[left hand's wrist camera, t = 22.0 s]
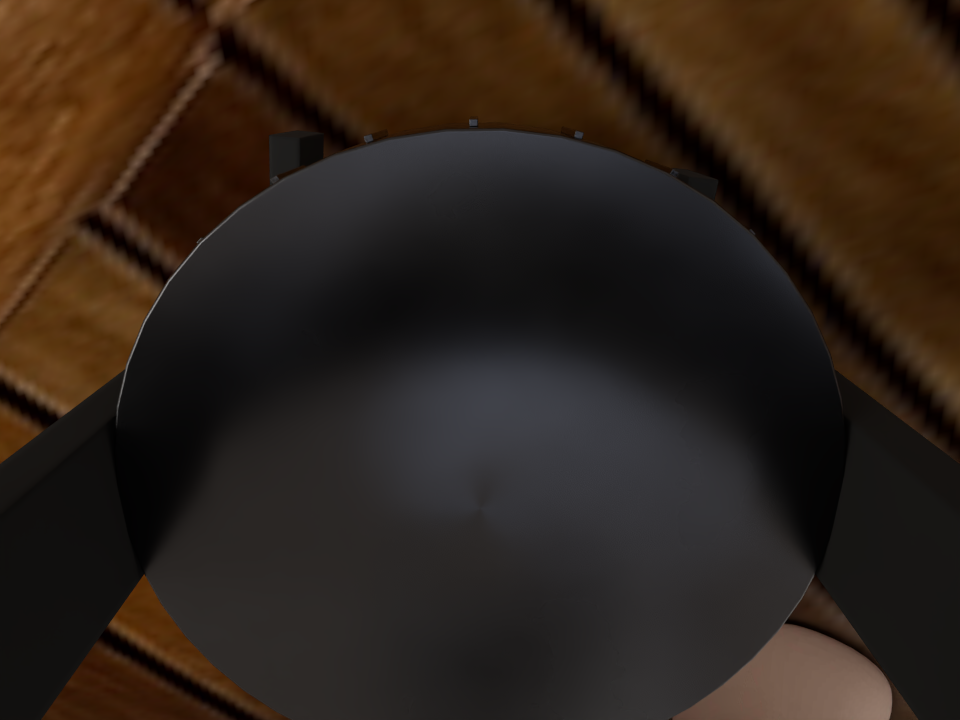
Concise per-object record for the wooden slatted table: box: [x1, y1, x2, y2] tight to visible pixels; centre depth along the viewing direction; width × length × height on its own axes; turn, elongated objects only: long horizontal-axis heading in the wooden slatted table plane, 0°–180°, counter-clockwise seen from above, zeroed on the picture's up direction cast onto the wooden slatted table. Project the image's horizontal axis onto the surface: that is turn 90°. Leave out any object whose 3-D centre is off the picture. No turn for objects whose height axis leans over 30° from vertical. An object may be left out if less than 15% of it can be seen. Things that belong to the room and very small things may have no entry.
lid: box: [114, 116, 846, 720], centre depth 11 cm, size 11×11×2 cm
